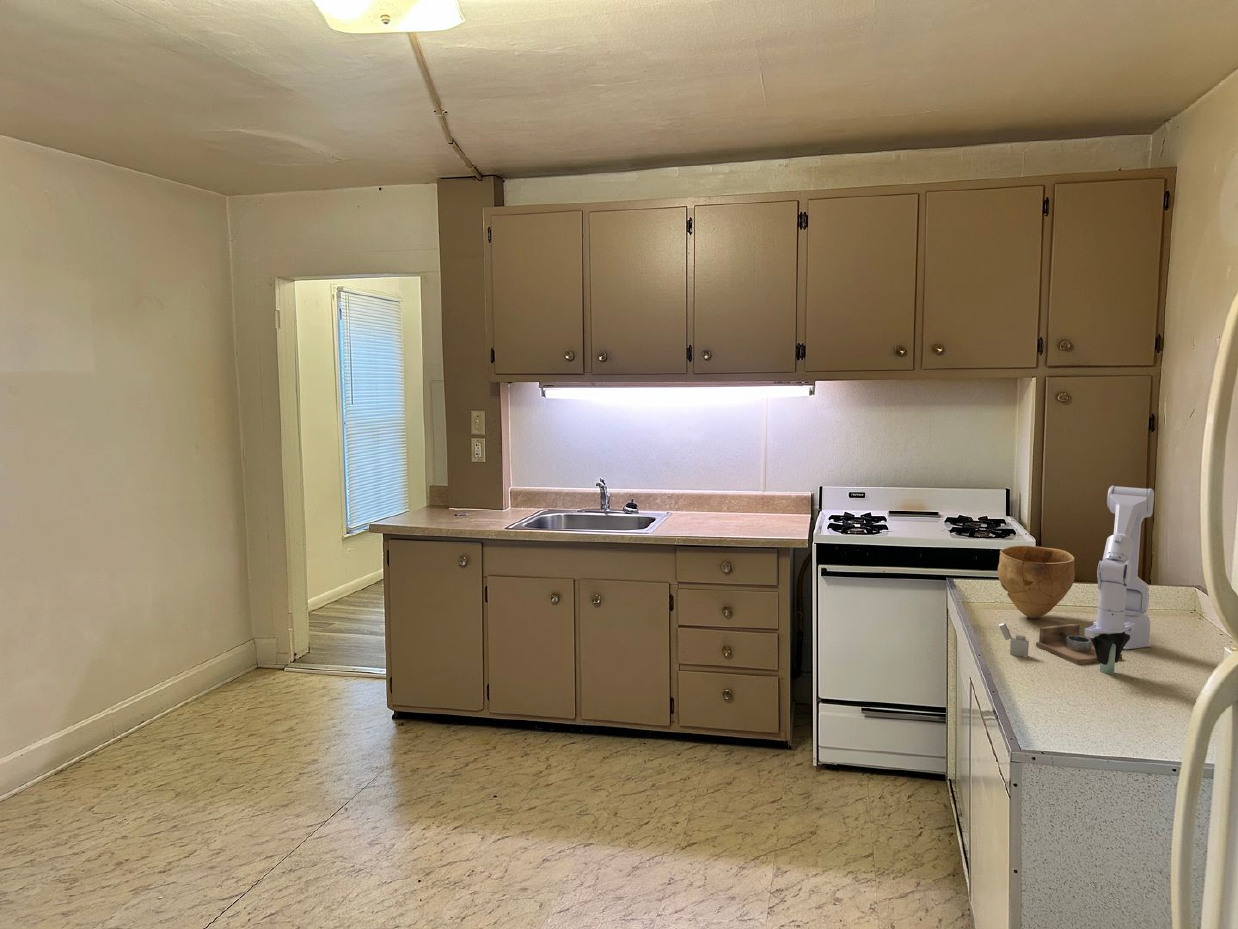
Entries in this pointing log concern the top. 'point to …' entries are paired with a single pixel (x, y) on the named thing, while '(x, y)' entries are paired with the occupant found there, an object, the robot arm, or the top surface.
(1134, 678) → the top surface
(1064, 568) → the bowl
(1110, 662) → the peg
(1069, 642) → the cup bracket
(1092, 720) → the top surface
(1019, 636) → the lighter
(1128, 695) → the top surface
